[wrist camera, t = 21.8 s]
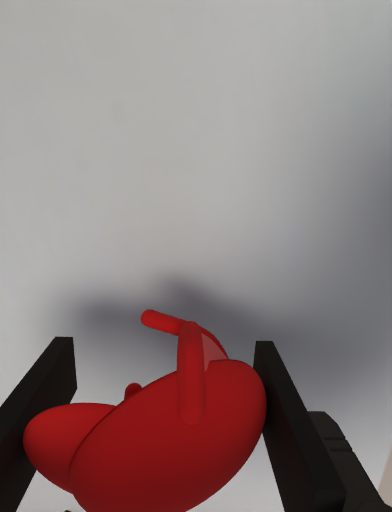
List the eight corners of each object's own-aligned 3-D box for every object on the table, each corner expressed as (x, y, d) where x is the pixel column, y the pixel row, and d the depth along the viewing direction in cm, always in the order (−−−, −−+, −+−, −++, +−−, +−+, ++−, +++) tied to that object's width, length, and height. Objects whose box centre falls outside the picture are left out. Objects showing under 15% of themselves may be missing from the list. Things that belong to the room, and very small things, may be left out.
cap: (248, 292, 13) (297, 391, 7) (254, 403, 15) (298, 556, 9) (66, 311, 13) (-31, 426, 7) (93, 421, 15) (32, 584, 9)
